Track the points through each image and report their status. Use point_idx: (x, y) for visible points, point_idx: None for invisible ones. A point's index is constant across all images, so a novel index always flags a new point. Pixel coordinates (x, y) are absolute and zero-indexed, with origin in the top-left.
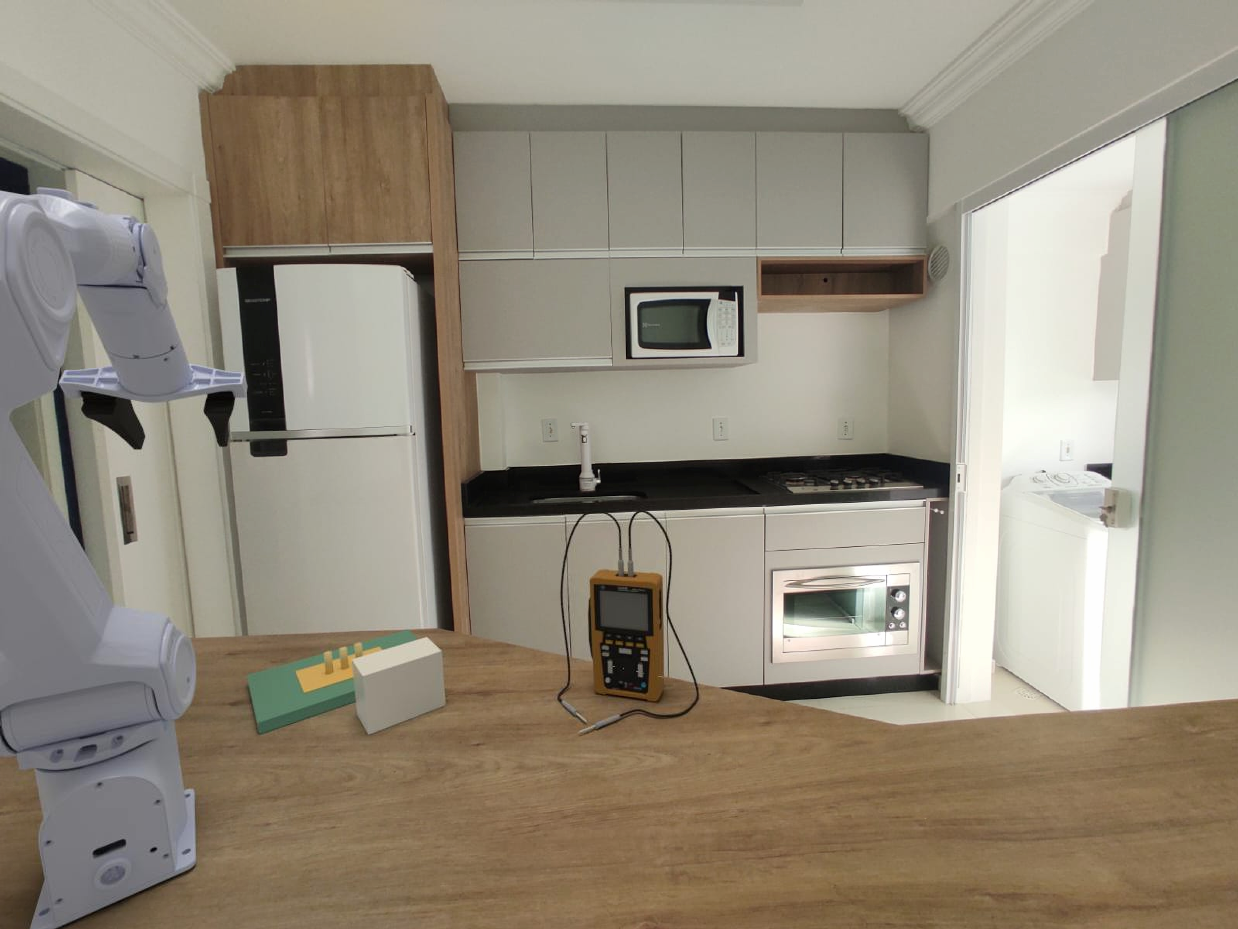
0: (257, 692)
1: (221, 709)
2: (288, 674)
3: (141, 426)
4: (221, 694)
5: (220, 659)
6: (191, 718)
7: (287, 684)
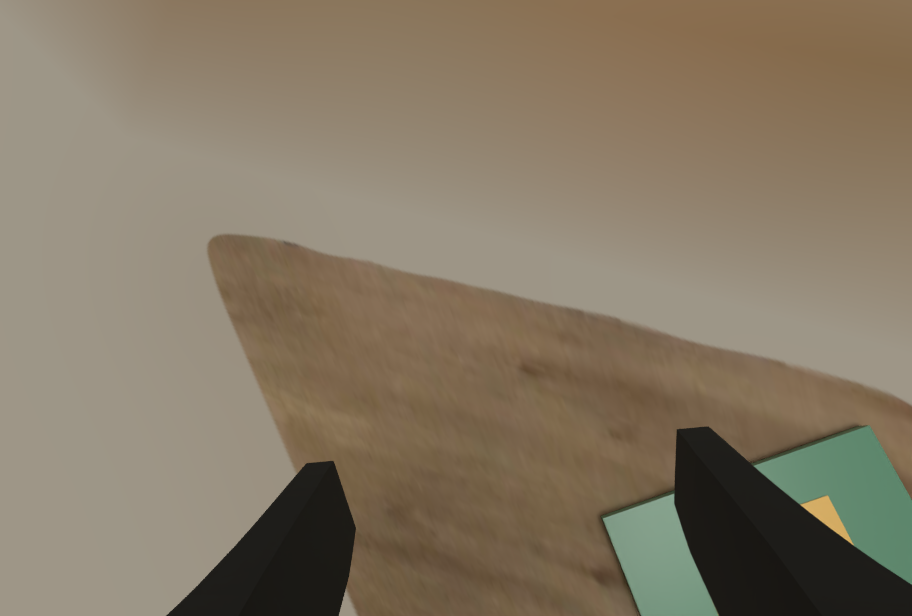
0: (645, 601)
1: (587, 589)
2: (677, 548)
3: (311, 503)
4: (567, 532)
5: (517, 387)
6: (551, 601)
7: (688, 591)
